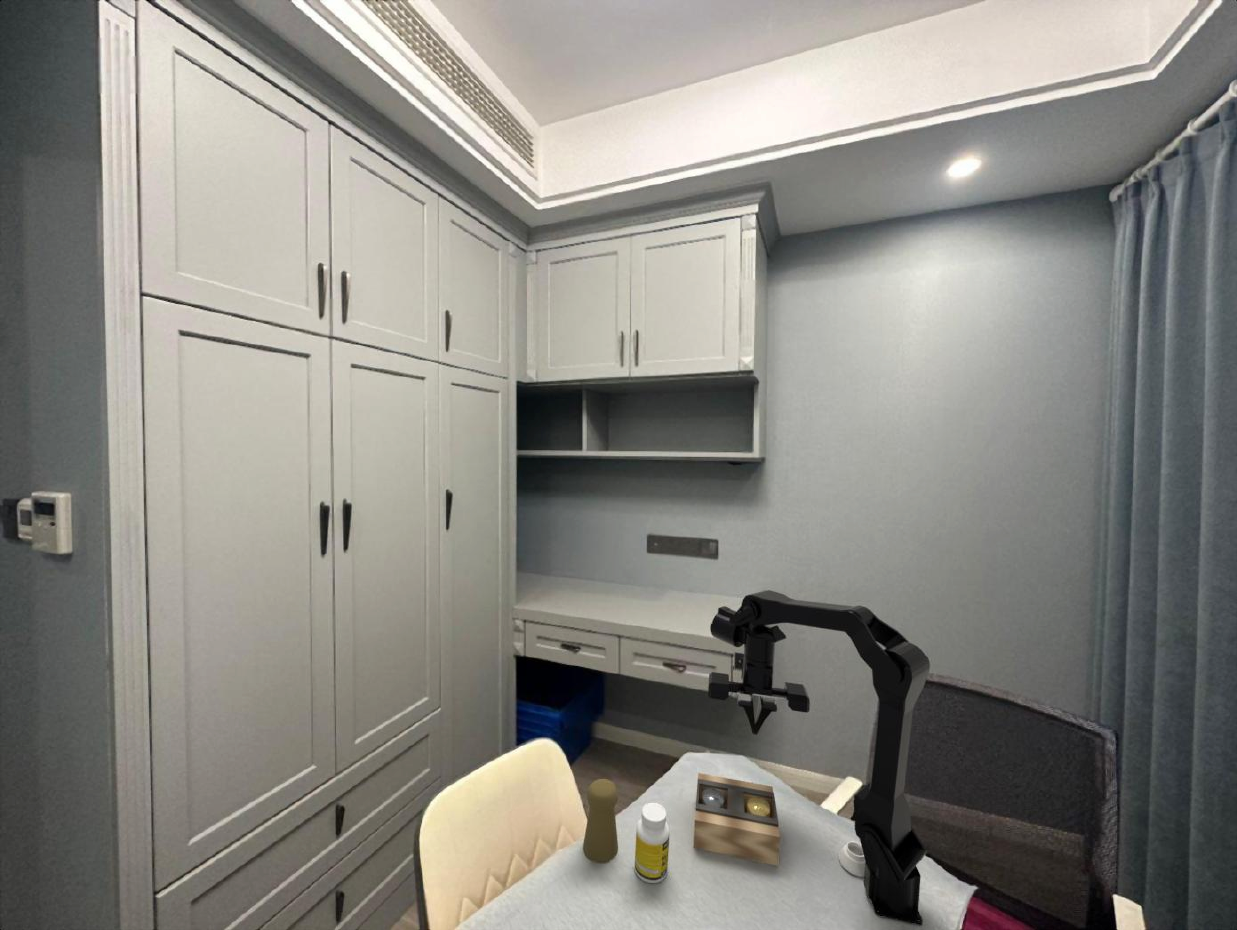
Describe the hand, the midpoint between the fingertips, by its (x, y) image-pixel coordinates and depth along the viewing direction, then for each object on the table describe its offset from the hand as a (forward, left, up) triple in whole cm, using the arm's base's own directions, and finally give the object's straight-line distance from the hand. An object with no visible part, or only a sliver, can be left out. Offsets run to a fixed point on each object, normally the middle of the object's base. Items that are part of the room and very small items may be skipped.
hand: (754, 733), depth 94 cm
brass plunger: (-1, +9, -13) cm, 16 cm away
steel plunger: (+7, +9, -13) cm, 18 cm away
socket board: (+3, +9, -13) cm, 16 cm away
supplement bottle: (+17, +21, -13) cm, 30 cm away
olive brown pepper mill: (+26, +19, -13) cm, 35 cm away
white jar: (-16, +11, -13) cm, 24 cm away
